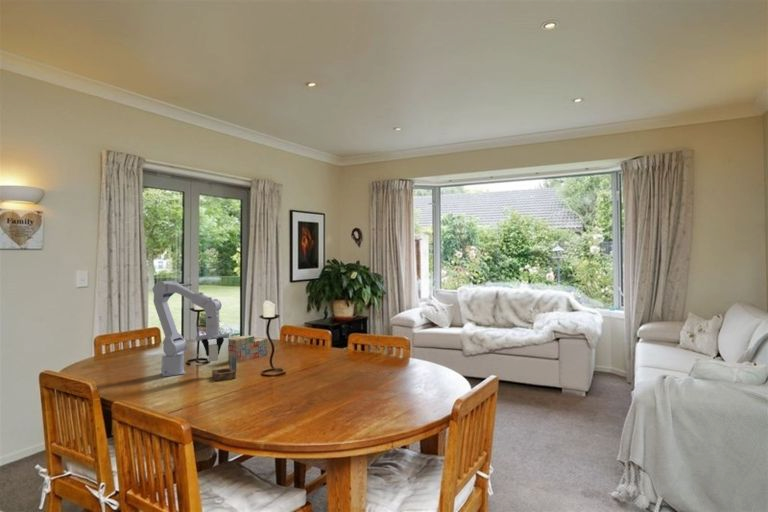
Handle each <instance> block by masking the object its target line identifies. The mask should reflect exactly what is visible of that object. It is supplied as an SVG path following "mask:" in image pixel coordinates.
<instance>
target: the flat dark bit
mask: <svg viewBox="0 0 768 512" xmlns="http://www.w3.org/2000/svg"><path fill="white" fill-rule="evenodd" d="M228 368H232V369H233V370H234V371H235V372H236V373H237V363H236V357H235V356H234V355H232V356H229V362H228Z"/></svg>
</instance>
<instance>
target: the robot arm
mask: <svg viewBox="0 0 768 512" xmlns="http://www.w3.org/2000/svg"><path fill="white" fill-rule="evenodd" d="M152 292H153V305H154V307H155V310H156V313H157V317H158V319H159V322H160V325H161V328H162V331H163V335H164V336H165V337H164V339H163V341H162V344H163V349H162V350H163V353H164V354H165V355H162V356H161V368H160V370H161V371H160V372H161V375H162V377H172V376H179V375H185V374H186V371H185V370H184V369H185V368H184V366H185V363H184V362H185V360H184V359H185V358H184V355H185V350H187V348H188V343H187V341H186V340H185V338H184V337H183V335H182V334H181V333H179V332H178V329H177V326H176V323H175V321H174V318H173V314H172V311H171V310H170V309H171V308H170V306H169V303H168V302H169V300H170V298H171V297H172V296H173V295H175V293H176V294H179V295H181V296H183V297H185V298H187V299H189V300H190V301H191V304H193V305H195V306H197V307H200V308H201V309H203V311H204V313H205V334H203V335H198V336H195V342H201V344H203V345H202V346H203V348H204V351H205V355H206V356H209V351H208V347H209V345H210V343H209V340H215V341H216V344H217V345H218V356H219V355H220V351H221V348H222V346H223V343H224V341H225V339H230V333H229V332H228V333H220V311H221V309H222V303H221V300H219V299H218V298H214V299H213V297H212V296H207V295H205V294H204V292H202V291H200V292H199V291H197V292H194V291H193V290H190V289H189V288H188V287H186V286H183V285H182V284H181V283H179V282H178V281H175V280H173V279H170V280H165V281H157V282H156V283H154V285H153V287H152Z"/></svg>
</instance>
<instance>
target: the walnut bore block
mask: <svg viewBox="0 0 768 512" xmlns="http://www.w3.org/2000/svg"><path fill="white" fill-rule="evenodd" d="M236 373H237V371H236V372H235V371H234V370H233V369H232V368H229V367H226V368H218V369H212V370H211V377H212V378H213V379H214V380H215V381H214V382H221V381H225V380H226V381H228V380H234V379H236V378H237V377H236V376H237V375H236Z"/></svg>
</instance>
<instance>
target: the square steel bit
mask: <svg viewBox="0 0 768 512" xmlns="http://www.w3.org/2000/svg"><path fill="white" fill-rule="evenodd" d="M208 351H209V356H207V355H206V356H207V358H206V359H207V361H208V362H209V363H210V362H218V360H219V355H218V345H217V343H213V344H212V343H211V344H209V347H208Z"/></svg>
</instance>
